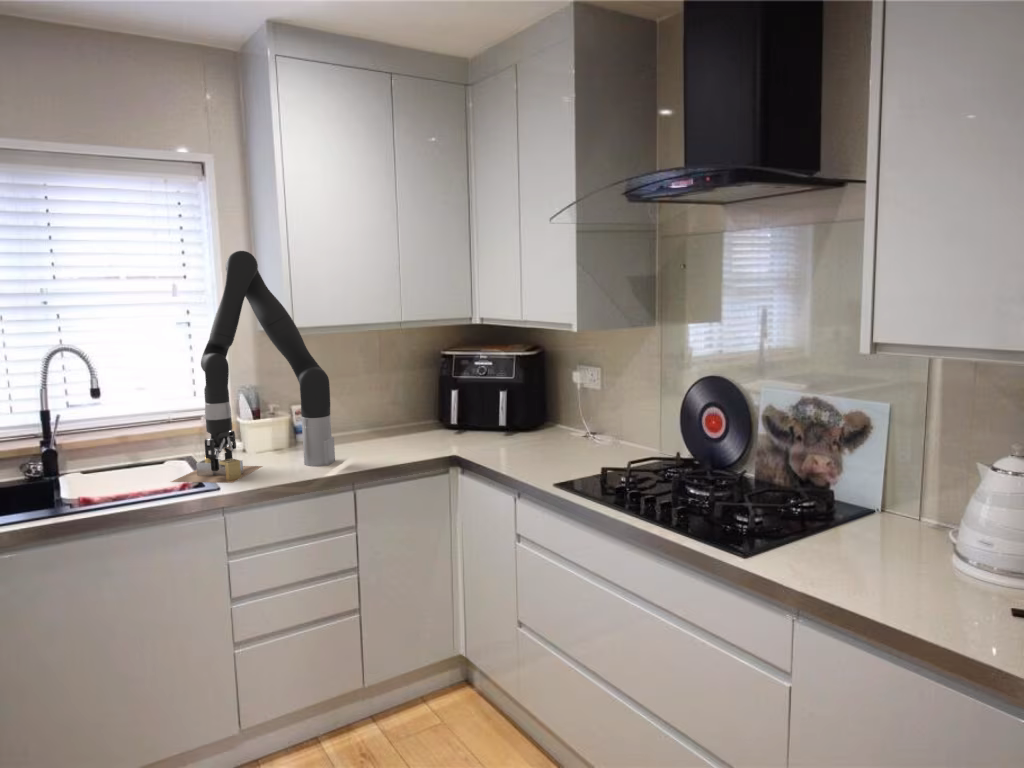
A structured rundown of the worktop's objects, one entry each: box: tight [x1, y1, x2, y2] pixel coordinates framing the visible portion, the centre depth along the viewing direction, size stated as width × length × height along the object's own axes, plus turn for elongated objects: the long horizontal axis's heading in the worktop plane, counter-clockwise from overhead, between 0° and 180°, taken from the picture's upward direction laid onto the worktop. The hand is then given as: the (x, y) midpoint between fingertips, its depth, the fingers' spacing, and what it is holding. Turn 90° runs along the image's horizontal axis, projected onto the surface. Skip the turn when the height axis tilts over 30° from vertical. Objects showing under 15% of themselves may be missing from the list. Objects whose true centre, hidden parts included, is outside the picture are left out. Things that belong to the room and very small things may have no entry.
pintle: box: [204, 456, 211, 463], centre depth 228 cm, size 2×2×6 cm
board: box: [170, 465, 264, 484], centre depth 228 cm, size 20×20×1 cm
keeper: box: [219, 458, 242, 481], centre depth 222 cm, size 5×4×6 cm
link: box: [195, 458, 244, 476], centre depth 228 cm, size 13×5×4 cm, turn 83°
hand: (222, 467), depth 228 cm, fingers open, 8 cm apart
